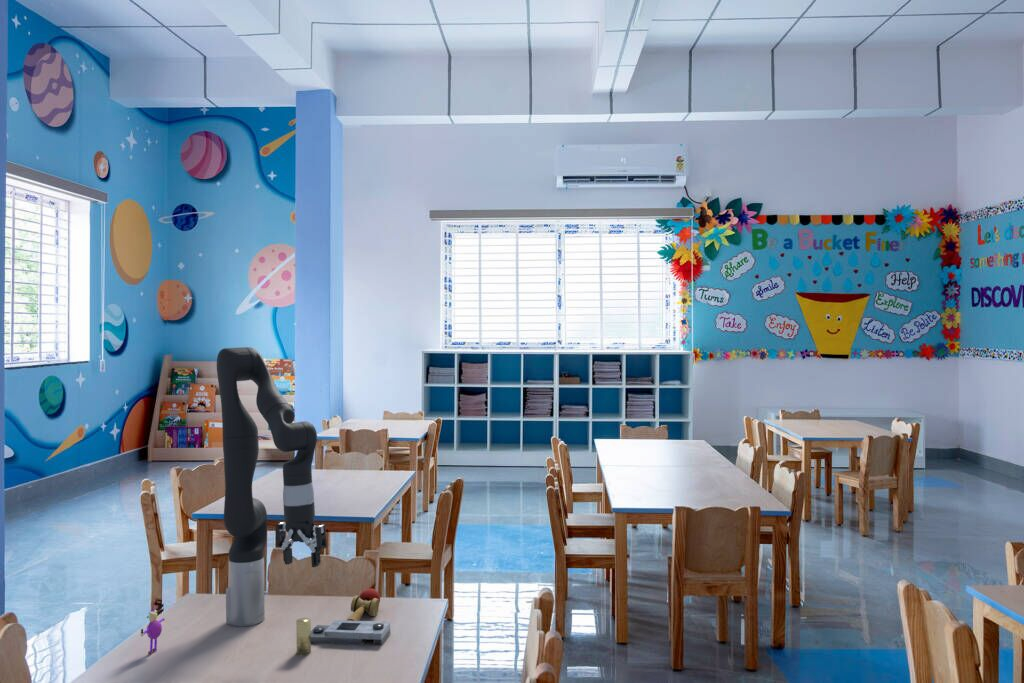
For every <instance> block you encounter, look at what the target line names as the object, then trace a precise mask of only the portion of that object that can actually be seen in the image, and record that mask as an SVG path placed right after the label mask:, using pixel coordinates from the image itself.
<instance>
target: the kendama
mask: <svg viewBox="0 0 1024 683" xmlns="http://www.w3.org/2000/svg"><path fill="white" fill-rule="evenodd" d="M380 603H381V595H380V593H379V592H378V590H376V589H374V588H366V589H365V590H363V591H361V593H360V594H359V595H354V596H353V598H352V600H351V603H350V611H351V612H353V614H351V615H350V617H348V619H347V621H361V618H362V617H363V614H364V612H367V613H368V615H369V616H370V617H375V616H376V615H377V614H378V610H379V607H380ZM375 614H376V615H375ZM374 615H375V616H374Z"/></svg>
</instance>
